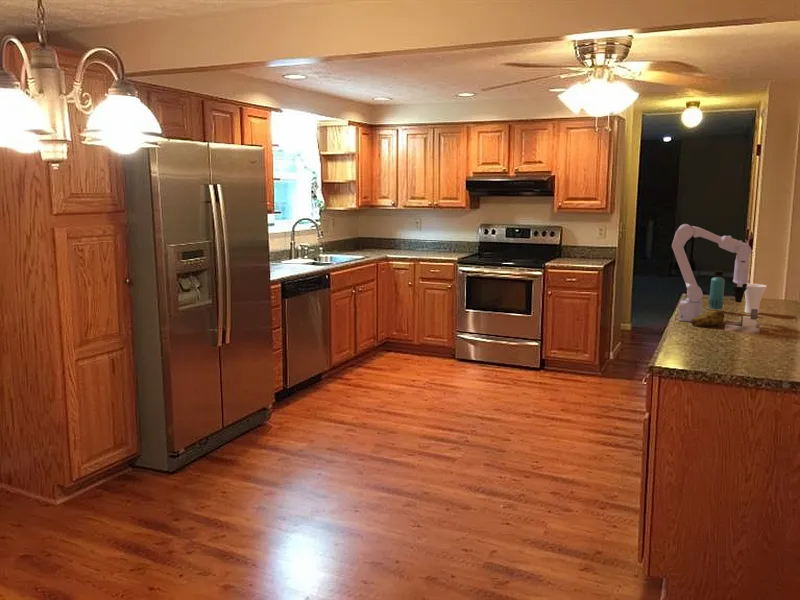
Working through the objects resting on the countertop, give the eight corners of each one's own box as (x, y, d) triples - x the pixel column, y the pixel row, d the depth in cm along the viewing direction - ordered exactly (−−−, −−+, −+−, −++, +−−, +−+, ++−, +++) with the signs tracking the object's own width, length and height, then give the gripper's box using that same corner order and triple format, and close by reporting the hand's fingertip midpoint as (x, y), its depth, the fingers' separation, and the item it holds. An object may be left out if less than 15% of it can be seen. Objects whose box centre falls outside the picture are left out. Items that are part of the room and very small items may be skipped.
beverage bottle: (721, 310, 331) (725, 270, 327) (723, 312, 325) (727, 271, 321) (707, 309, 333) (710, 269, 330) (708, 311, 327) (712, 271, 323)
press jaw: (740, 330, 281) (742, 310, 280) (740, 326, 289) (742, 306, 287) (755, 331, 278) (757, 311, 277) (755, 327, 286) (757, 307, 285)
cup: (763, 315, 319) (766, 287, 317) (738, 313, 324) (741, 285, 322) (764, 311, 328) (767, 284, 325) (740, 309, 333) (743, 282, 331)
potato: (690, 324, 297) (692, 307, 296) (722, 327, 292) (724, 309, 291) (690, 328, 290) (692, 310, 288) (723, 331, 285) (725, 312, 283)
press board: (724, 332, 282) (724, 325, 281) (725, 326, 294) (726, 319, 293) (759, 336, 276) (759, 329, 275) (759, 329, 288) (759, 322, 287)
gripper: (751, 273, 288) (748, 304, 290) (751, 269, 300) (748, 299, 303) (733, 271, 291) (730, 302, 293) (734, 268, 303) (731, 297, 306)
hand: (738, 300), depth 298 cm, fingers open, 7 cm apart
